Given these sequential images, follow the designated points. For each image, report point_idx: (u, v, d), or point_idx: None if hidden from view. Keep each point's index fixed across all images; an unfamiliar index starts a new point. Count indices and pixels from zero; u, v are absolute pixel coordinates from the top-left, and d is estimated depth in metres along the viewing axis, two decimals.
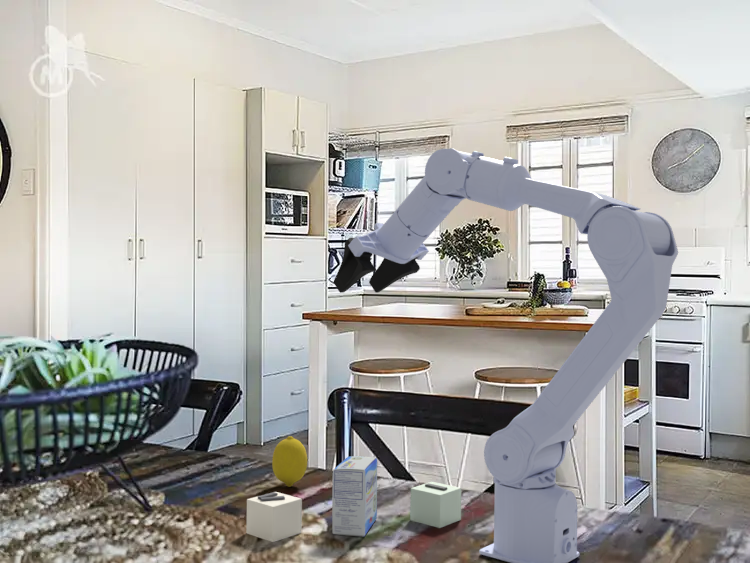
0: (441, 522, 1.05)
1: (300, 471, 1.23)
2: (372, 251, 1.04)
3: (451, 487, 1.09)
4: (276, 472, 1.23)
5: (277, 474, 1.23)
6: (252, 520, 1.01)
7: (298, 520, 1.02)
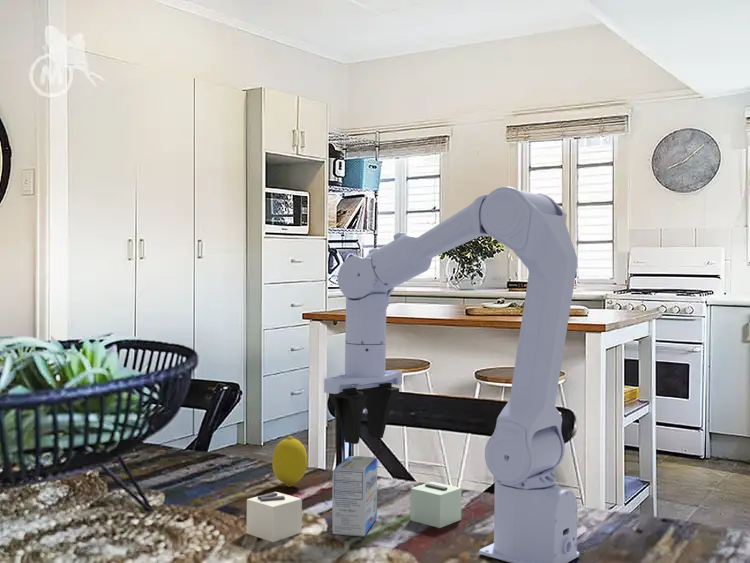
0: (441, 522, 1.05)
1: (300, 471, 1.23)
2: (346, 382, 1.06)
3: (451, 487, 1.09)
4: (276, 472, 1.23)
5: (277, 474, 1.23)
6: (252, 520, 1.01)
7: (298, 520, 1.02)
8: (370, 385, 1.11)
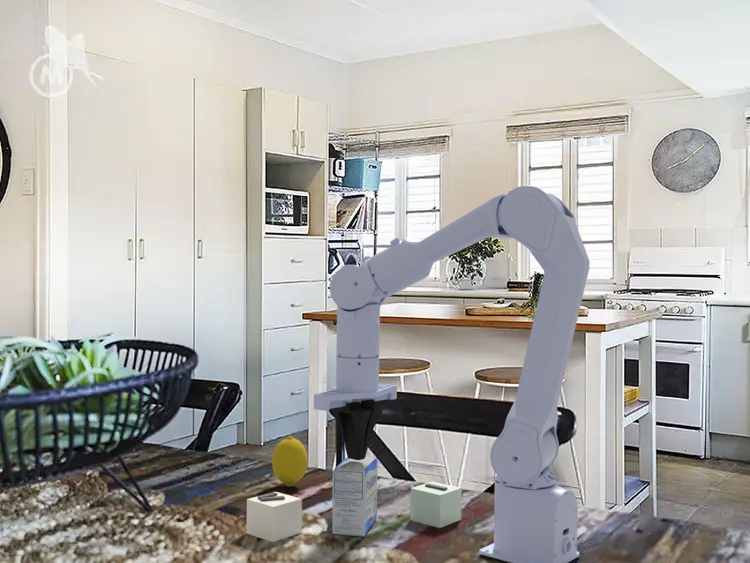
0: (441, 522, 1.05)
1: (300, 471, 1.23)
2: (337, 398, 1.00)
3: (451, 487, 1.09)
4: (276, 472, 1.23)
5: (277, 474, 1.23)
6: (252, 520, 1.01)
7: (298, 520, 1.02)
8: (363, 400, 1.05)
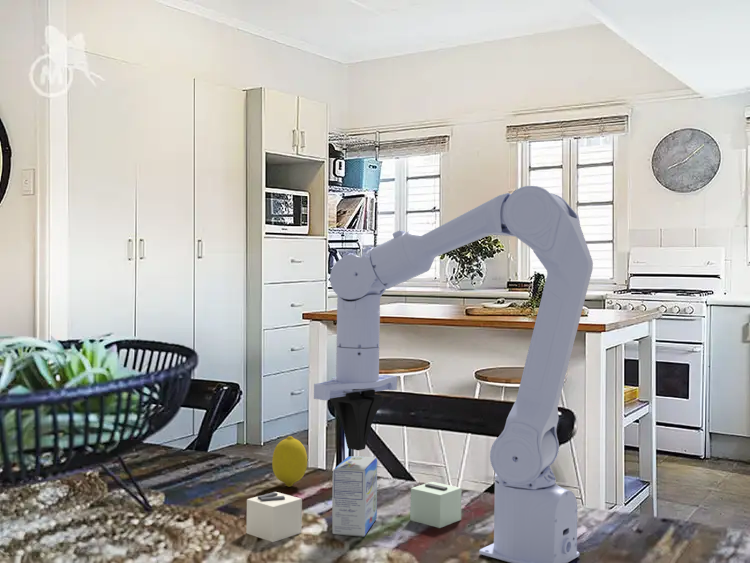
0: (441, 522, 1.05)
1: (299, 471, 1.23)
2: (337, 388, 1.00)
3: (451, 487, 1.09)
4: (276, 472, 1.23)
5: (277, 474, 1.23)
6: (252, 520, 1.01)
7: (298, 520, 1.02)
8: (363, 391, 1.05)
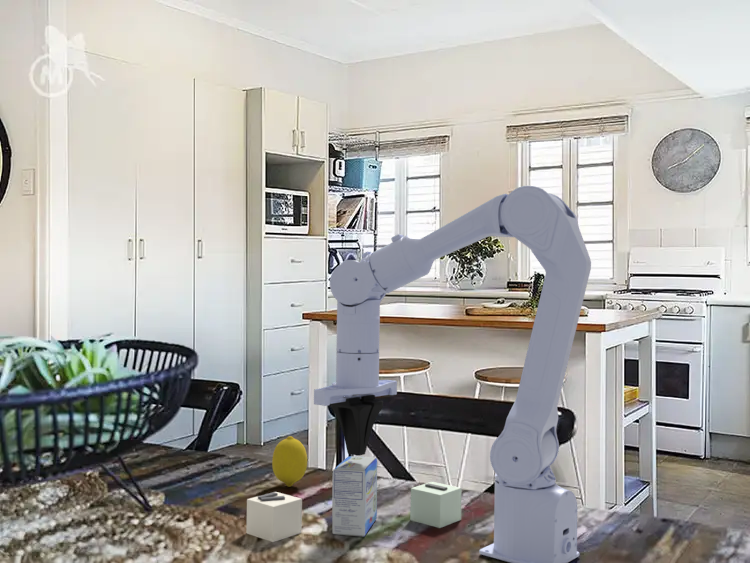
0: (441, 522, 1.05)
1: (299, 471, 1.23)
2: (337, 393, 1.00)
3: (451, 487, 1.09)
4: (276, 472, 1.23)
5: (277, 474, 1.23)
6: (252, 520, 1.01)
7: (298, 520, 1.02)
8: (363, 396, 1.05)
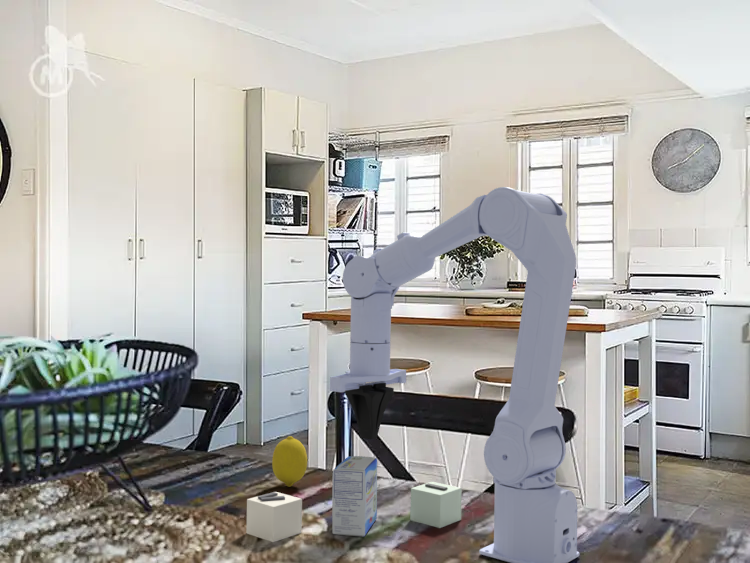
0: (441, 522, 1.05)
1: (299, 471, 1.23)
2: (352, 380, 1.07)
3: (451, 487, 1.09)
4: (276, 472, 1.23)
5: (277, 474, 1.23)
6: (252, 520, 1.01)
7: (298, 520, 1.02)
8: (375, 384, 1.12)
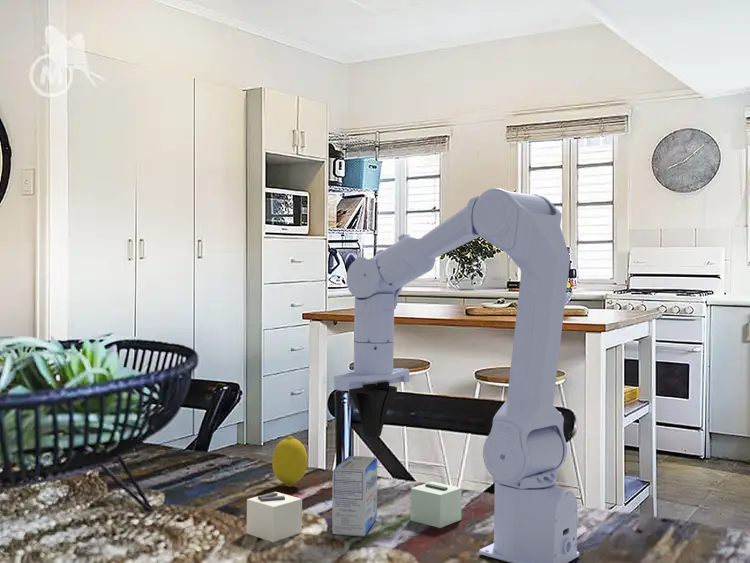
0: (441, 522, 1.05)
1: (299, 471, 1.23)
2: (355, 379, 1.09)
3: (451, 487, 1.09)
4: (276, 472, 1.23)
5: (277, 474, 1.23)
6: (252, 520, 1.01)
7: (298, 520, 1.02)
8: (378, 382, 1.14)
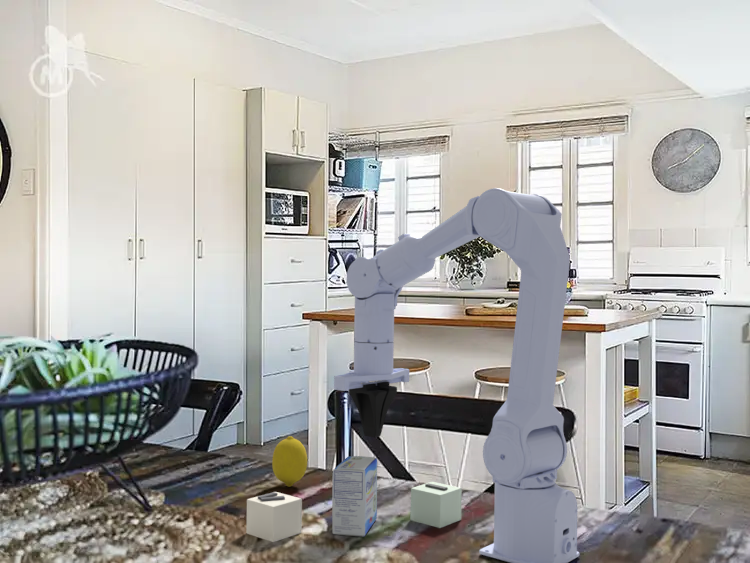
0: (441, 522, 1.05)
1: (300, 471, 1.23)
2: (355, 379, 1.09)
3: (451, 487, 1.09)
4: (276, 472, 1.23)
5: (277, 474, 1.23)
6: (252, 521, 1.01)
7: (298, 520, 1.02)
8: (378, 382, 1.14)
